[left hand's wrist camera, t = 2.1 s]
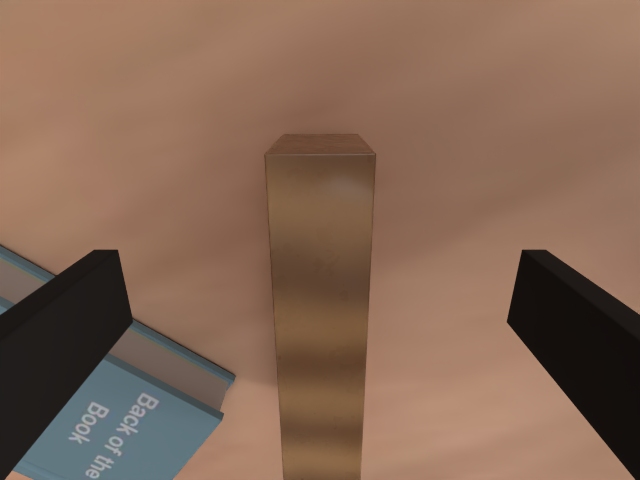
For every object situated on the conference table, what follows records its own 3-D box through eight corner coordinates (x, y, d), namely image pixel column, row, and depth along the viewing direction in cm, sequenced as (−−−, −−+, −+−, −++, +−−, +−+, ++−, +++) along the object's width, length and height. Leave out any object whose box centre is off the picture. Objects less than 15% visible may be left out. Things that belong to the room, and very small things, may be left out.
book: (235, 376, 34) (221, 420, 29) (154, 476, 39) (131, 528, 34) (-13, 238, 29) (-77, 265, 25) (-72, 372, 34) (-134, 416, 29)
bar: (282, 134, 27) (264, 153, 18) (358, 134, 27) (376, 153, 18) (292, 391, 35) (283, 486, 26) (350, 391, 35) (360, 486, 26)
